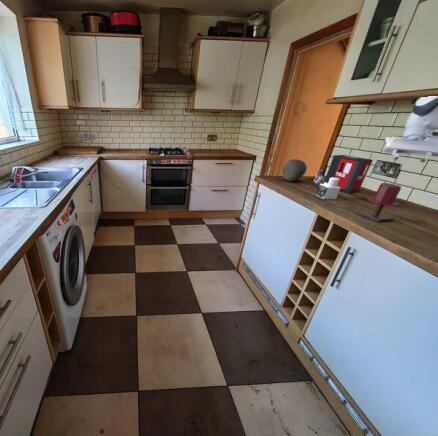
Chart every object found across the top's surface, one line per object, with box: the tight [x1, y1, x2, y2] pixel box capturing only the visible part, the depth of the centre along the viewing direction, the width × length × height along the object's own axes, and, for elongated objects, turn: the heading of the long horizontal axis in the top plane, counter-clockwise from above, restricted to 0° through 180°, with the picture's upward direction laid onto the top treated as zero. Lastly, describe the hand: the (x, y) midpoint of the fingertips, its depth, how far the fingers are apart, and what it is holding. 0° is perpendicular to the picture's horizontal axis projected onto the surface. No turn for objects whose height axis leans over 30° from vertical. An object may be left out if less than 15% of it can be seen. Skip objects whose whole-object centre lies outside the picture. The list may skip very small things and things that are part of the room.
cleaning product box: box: [322, 154, 373, 194], centre depth 144 cm, size 16×9×20 cm, turn 22°
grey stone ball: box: [281, 158, 308, 183], centre depth 158 cm, size 14×14×15 cm
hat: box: [366, 182, 402, 207], centre depth 102 cm, size 10×10×8 cm
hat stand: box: [357, 204, 395, 223], centre depth 104 cm, size 9×9×15 cm
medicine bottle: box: [315, 176, 340, 200], centre depth 129 cm, size 7×7×12 cm
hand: (409, 160), depth 109 cm, fingers open, 8 cm apart
